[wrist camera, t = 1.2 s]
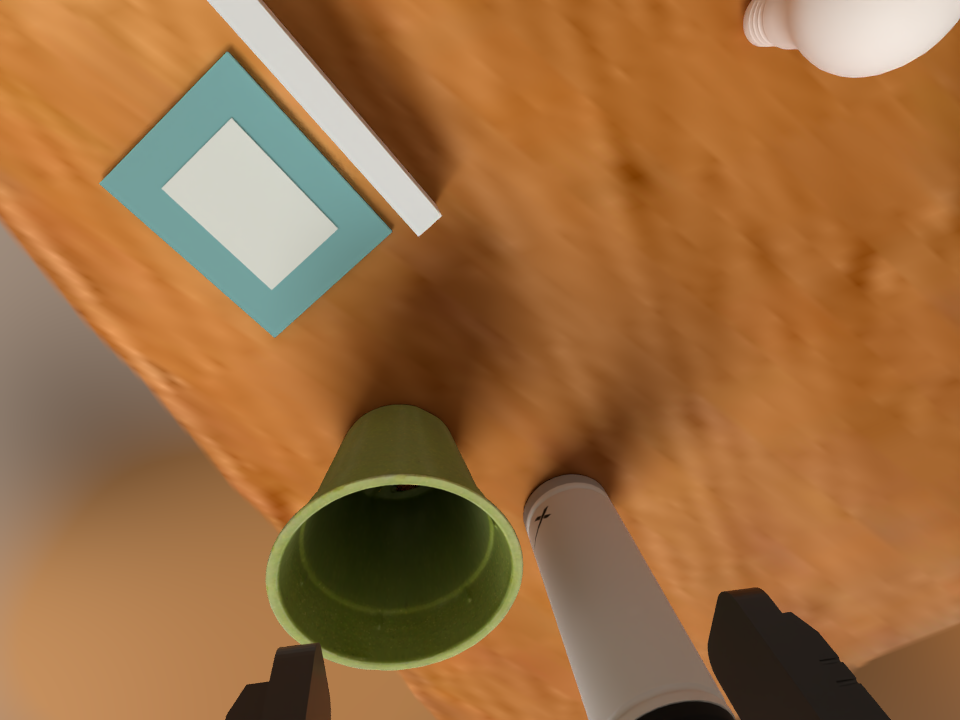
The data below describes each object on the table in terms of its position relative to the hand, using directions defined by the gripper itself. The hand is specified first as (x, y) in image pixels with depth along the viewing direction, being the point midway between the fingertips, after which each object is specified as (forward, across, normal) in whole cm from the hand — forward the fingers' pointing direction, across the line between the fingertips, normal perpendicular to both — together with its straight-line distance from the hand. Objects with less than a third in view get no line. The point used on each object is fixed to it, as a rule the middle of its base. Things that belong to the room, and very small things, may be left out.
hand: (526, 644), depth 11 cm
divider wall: (+23, +6, -11) cm, 26 cm away
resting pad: (+23, +9, -5) cm, 26 cm away
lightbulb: (+24, -17, -14) cm, 32 cm away
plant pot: (+24, +3, +10) cm, 26 cm away
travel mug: (+24, -8, +16) cm, 30 cm away
